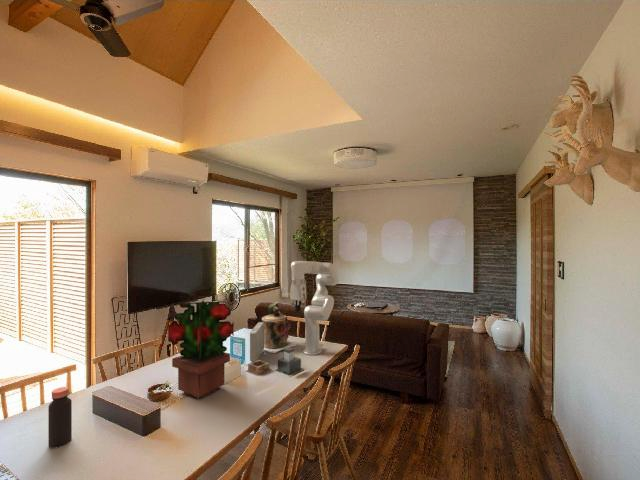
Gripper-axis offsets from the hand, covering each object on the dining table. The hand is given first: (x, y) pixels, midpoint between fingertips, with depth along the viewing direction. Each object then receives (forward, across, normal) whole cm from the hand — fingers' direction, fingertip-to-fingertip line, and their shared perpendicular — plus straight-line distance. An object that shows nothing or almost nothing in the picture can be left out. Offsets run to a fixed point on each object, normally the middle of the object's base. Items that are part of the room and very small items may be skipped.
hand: (297, 311), depth 198 cm
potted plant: (+32, +13, +58) cm, 68 cm away
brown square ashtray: (+32, +8, +25) cm, 41 cm away
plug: (+31, -5, +13) cm, 34 cm away
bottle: (+32, +17, +114) cm, 120 cm away
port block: (+32, -5, +13) cm, 35 cm away
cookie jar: (+32, +34, -13) cm, 49 cm away
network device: (+32, +27, +10) cm, 43 cm away
